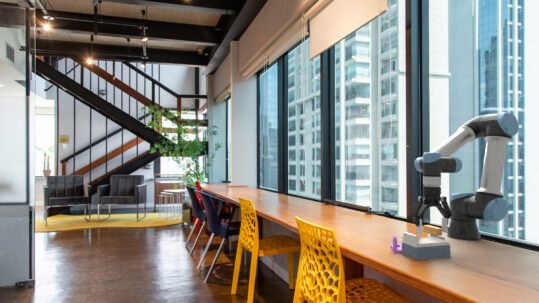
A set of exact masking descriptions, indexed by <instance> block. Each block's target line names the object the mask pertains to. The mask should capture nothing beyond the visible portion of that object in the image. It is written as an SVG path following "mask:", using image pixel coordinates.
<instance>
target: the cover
mask: <svg viewBox="0 0 539 303" xmlns="http://www.w3.org/2000/svg"><path fill="white" fill-rule="evenodd" d="M402 234H403V236H402V239H401V241H402V242H401V244H402V243H405V244H408V245H410V246H413V247H416V248H417V247H431V246H444V245H450V241H448V240H446V239H445V240H442V239H439V238H435V237H430V236H429V237H420V236H419V235H416V234H414V233H410V232H407V231H405V232H403V233H402Z"/></svg>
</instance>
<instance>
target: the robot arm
mask: <svg viewBox="0 0 539 303" xmlns="http://www.w3.org/2000/svg"><path fill="white" fill-rule="evenodd" d="M519 129H520V125H519V121H518V119H517V117H516V116H515V114H513V113H511V112H506V111H505V112H498V113H488V114H483V115H479V116H478V115H477V116H475V117H473V118H472V119H470V120H467V121H466V122H465V123H463V124H462V125H461V126H459V128H458V129H457V131H456V132H454V134H452V135H451V136H450V137H448V138H447V139H446V140H445V141H443V142H442V143H441V144H440V145H438V146H436V148H434V149H433V150H432V151H425V152H424V153H422V154H423V155H422V156H420V157H417V158H416V159H415V160H414V168H415V170H416V171H418V172H420V173H422V185H423V186H422V194H423V196H417V198H416V203H415V205H414V208H413V210H412V212H411V215H410V217H411V218H413V219H414V220H415V221H414V224H415V226H416V228H415V229H416V230H415V231H416V234H418V235H423V219H422V217H423V215H424V214H425V212H426V211H427V210H428V208H432V207H434V208H436V209H437V210H438V211H439V213H440V214H441V216H442V217H441V228H442V233H444V234H447V237H450V238H451V239H458V240H467V241H475V240H480V239H481V233H480V232H479V227H478V225H477V220H479V221H486V222H494V223H498V222H501V221H503V219H505V218H506V216H507V214H508V212H509V205H508V201H507V200H506V199H505V197H504V194H503V193H502V191H501V190H502V183H503V175H504V167H505V161H506V155H507V147H508V146H507V145H508V144H509V143H510V142H511V141H512V138H513V136H515V135H517V134H518V133H519V131H520V130H519ZM482 138H483V140H484V141H485V142H486V145H485V150H484V158H483V166H482V172H481V178H480V179H481V180H480V187H479V188H478V190H476V191H475V192H460V193H459V192H456V193H451V194H450V198H449V202H448V200H447V196H444V195H443V196H441V195H442V187H441V186H442V174H455V173H459V172H461V170H462V169H463V161H462V160H461V158H459V157H456V156H453V155H454V154H455V153H456V152H457V151H459V150H460V149H462V148H463V147H464V146H465V145H467V144H468V143H472V142H473V141H475V140H477V139H482ZM448 203H450V204H448ZM449 219H450V221H449Z"/></svg>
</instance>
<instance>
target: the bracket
mask: <svg viewBox="0 0 539 303" xmlns="http://www.w3.org/2000/svg"><path fill="white" fill-rule="evenodd" d="M390 249H391V250H392V252H393V254H402V243H398V236H395V235H393V236H392V243H390Z"/></svg>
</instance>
